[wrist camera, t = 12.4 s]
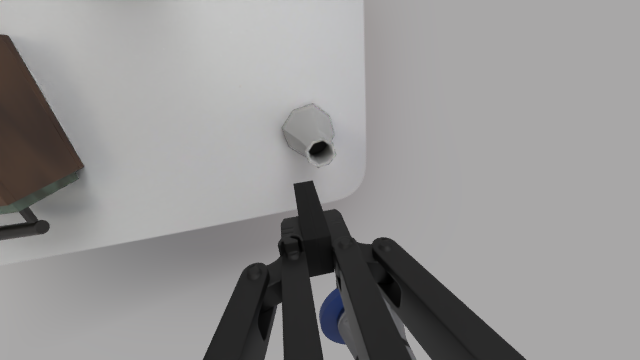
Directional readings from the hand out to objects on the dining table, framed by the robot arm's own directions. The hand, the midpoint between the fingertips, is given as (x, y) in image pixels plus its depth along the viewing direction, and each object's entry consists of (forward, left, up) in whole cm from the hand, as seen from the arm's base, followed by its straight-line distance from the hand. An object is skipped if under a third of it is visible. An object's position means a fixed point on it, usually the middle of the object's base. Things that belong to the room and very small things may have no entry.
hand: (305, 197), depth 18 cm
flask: (+1, -3, -17) cm, 17 cm away
